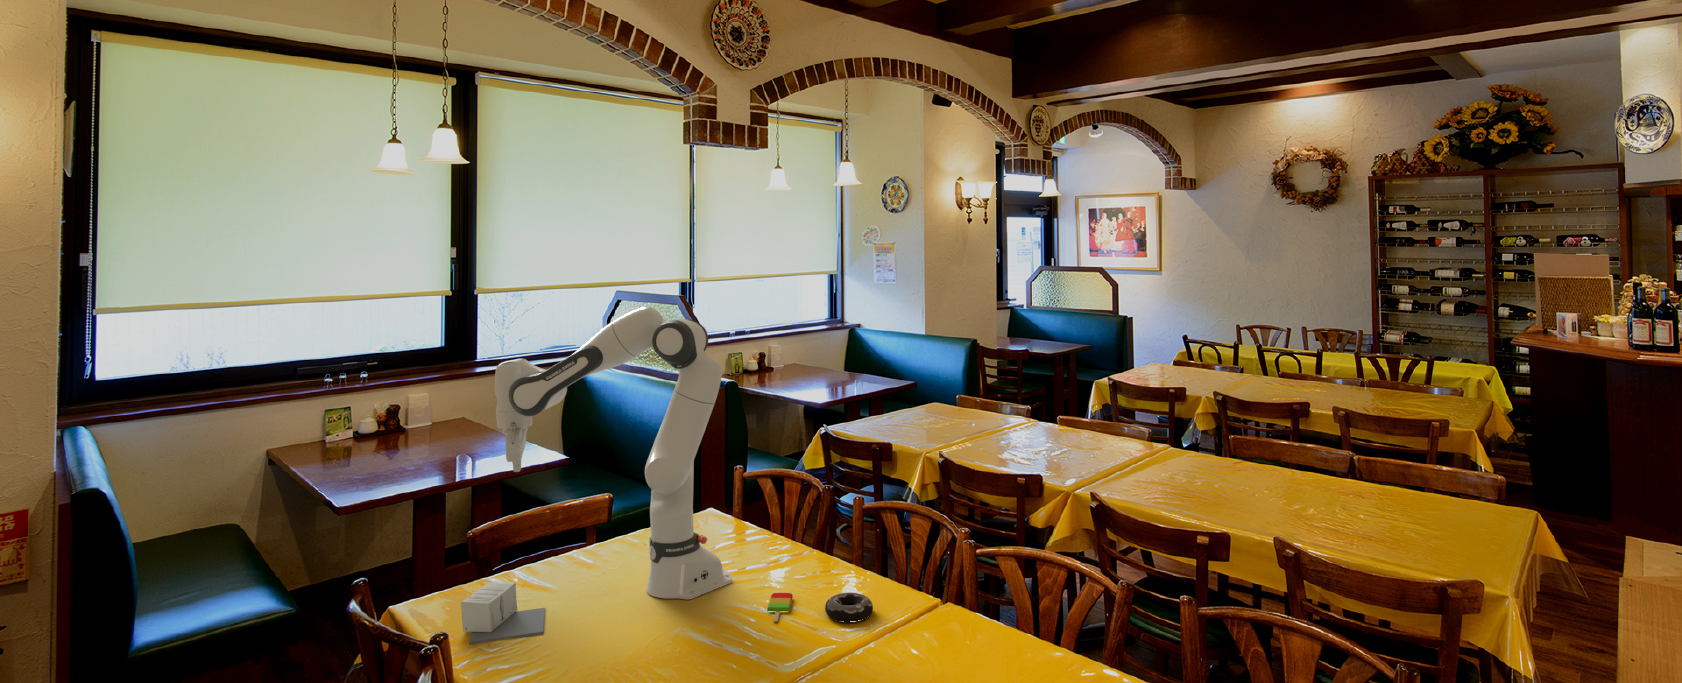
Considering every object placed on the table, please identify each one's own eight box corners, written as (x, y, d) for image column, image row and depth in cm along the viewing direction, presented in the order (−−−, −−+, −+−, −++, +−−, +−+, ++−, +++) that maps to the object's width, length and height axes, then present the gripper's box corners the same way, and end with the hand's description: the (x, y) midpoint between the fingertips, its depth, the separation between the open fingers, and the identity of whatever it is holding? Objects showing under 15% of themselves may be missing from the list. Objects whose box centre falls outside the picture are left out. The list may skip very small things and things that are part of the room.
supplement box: (518, 610, 205) (491, 633, 193) (490, 608, 206) (461, 632, 194) (517, 581, 204) (489, 603, 192) (488, 580, 205) (459, 602, 193)
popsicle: (793, 599, 212) (793, 592, 212) (786, 625, 197) (786, 617, 197) (771, 598, 213) (771, 591, 212) (763, 624, 198) (763, 617, 197)
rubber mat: (475, 618, 202) (475, 616, 202) (545, 609, 207) (545, 607, 207) (468, 644, 189) (468, 641, 189) (543, 633, 194) (543, 631, 194)
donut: (864, 602, 209) (864, 587, 209) (879, 622, 198) (879, 606, 197) (820, 608, 206) (819, 593, 206) (832, 628, 195) (832, 612, 194)
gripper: (524, 426, 211) (527, 479, 212) (529, 412, 230) (531, 460, 232) (498, 428, 209) (501, 481, 210) (505, 413, 228) (507, 462, 230)
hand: (517, 470), depth 221 cm, fingers closed
